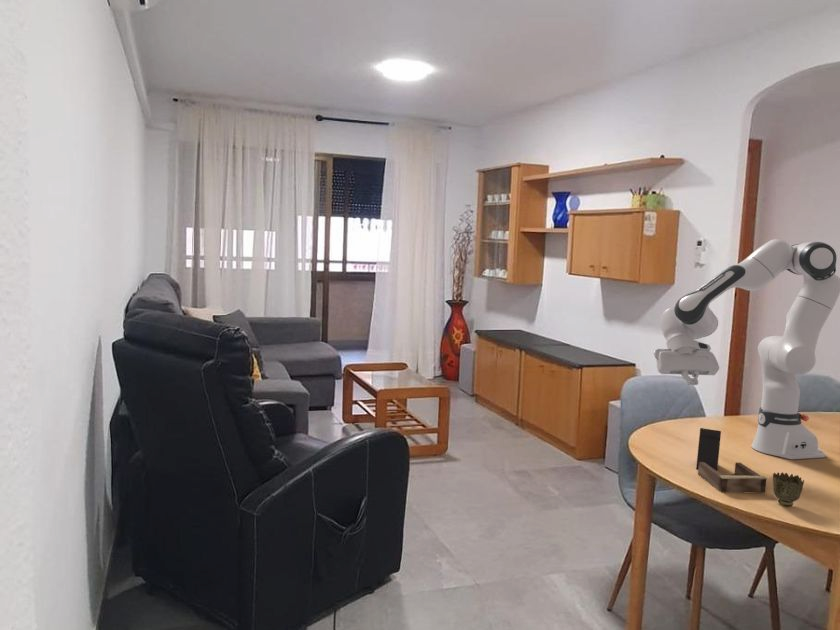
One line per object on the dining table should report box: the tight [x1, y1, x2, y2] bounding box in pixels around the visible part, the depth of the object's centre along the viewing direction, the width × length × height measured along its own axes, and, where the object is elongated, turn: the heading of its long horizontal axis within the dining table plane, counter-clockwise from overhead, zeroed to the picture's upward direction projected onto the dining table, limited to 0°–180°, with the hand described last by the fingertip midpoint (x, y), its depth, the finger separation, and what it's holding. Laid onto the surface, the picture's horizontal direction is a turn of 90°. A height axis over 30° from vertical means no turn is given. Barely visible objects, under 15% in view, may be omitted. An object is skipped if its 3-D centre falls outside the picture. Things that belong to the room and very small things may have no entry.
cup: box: [772, 472, 805, 508], centre depth 178 cm, size 8×7×8 cm
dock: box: [697, 462, 768, 494], centre depth 193 cm, size 13×14×4 cm
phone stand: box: [695, 427, 722, 472], centre depth 206 cm, size 9×6×12 cm, turn 155°
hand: (693, 384), depth 217 cm, fingers closed
